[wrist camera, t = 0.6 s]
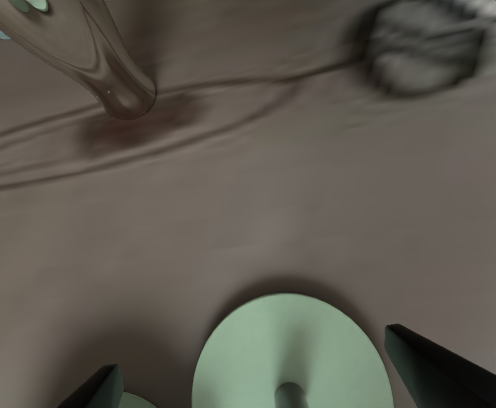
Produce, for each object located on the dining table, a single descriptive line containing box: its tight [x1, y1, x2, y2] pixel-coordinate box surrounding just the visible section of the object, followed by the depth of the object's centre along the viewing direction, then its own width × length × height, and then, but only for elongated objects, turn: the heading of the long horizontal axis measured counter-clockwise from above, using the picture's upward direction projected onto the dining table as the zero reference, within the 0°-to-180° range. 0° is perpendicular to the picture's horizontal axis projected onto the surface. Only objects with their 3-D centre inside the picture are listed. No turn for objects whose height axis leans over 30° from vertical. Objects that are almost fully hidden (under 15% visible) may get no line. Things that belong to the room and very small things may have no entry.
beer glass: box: [0, 0, 156, 120], centre depth 18 cm, size 7×7×15 cm
